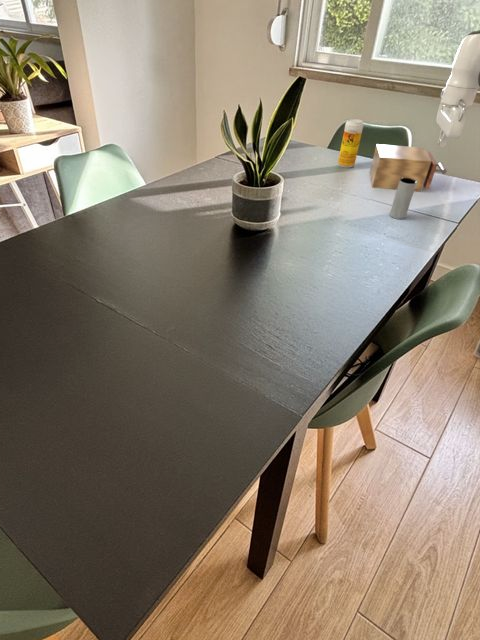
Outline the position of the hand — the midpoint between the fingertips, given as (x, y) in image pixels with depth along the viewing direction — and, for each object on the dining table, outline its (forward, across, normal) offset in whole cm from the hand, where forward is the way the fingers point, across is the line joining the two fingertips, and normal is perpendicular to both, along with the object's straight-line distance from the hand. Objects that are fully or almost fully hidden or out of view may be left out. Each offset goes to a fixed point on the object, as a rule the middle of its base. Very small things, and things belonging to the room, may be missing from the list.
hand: (441, 146), depth 136 cm
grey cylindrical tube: (+13, -29, +13) cm, 34 cm away
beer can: (+13, +13, +27) cm, 33 cm away
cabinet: (+12, 0, +11) cm, 17 cm away
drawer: (+11, 0, +6) cm, 13 cm away
